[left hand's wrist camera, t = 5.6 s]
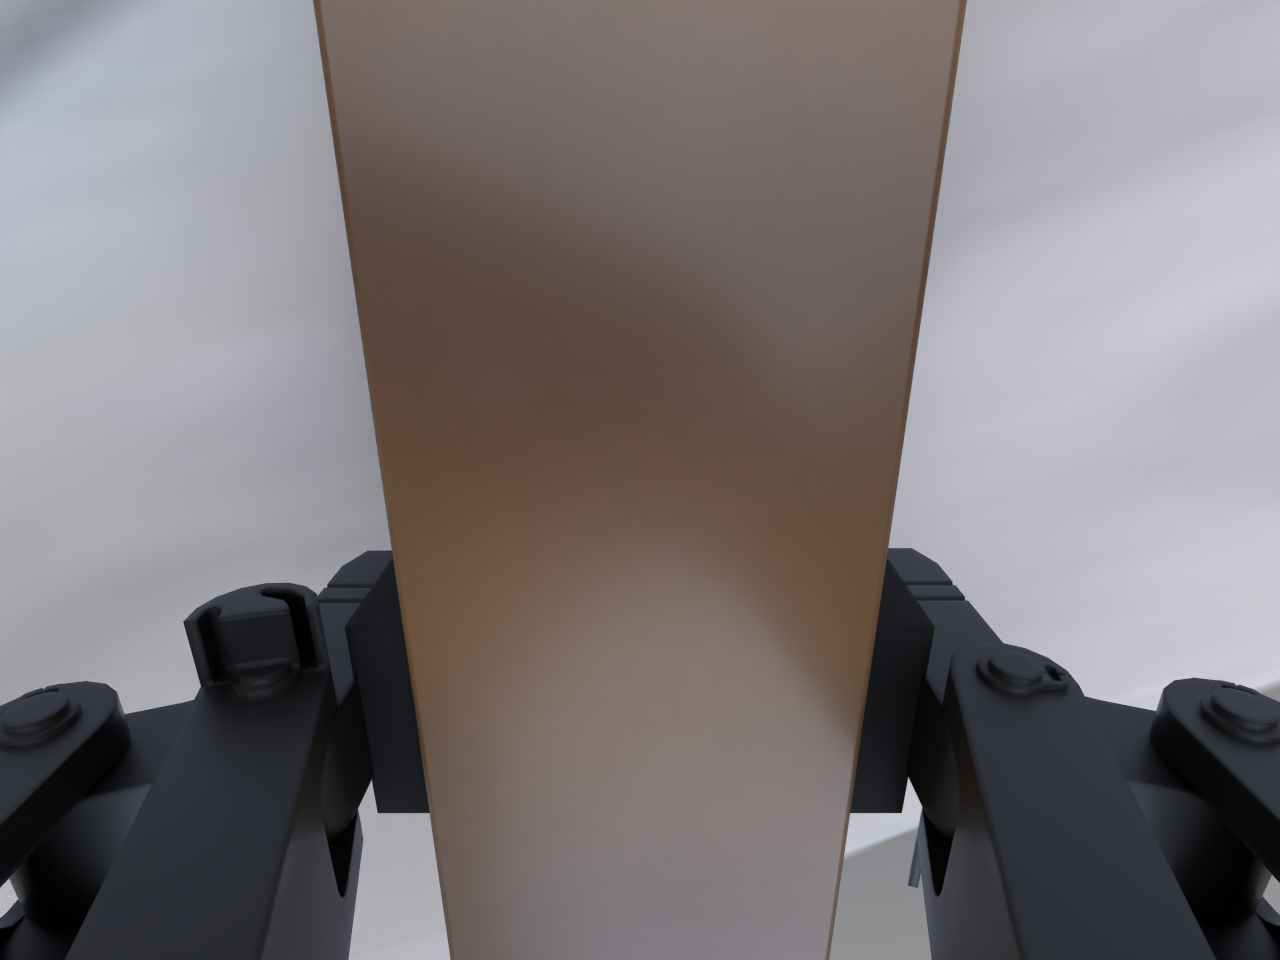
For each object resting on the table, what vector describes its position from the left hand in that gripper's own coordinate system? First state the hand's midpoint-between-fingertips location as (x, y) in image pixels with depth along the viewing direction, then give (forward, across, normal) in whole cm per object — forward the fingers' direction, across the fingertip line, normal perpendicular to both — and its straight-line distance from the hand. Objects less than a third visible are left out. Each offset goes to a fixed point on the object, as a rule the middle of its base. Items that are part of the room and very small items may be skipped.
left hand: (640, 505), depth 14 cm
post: (+1, 0, -24) cm, 24 cm away
